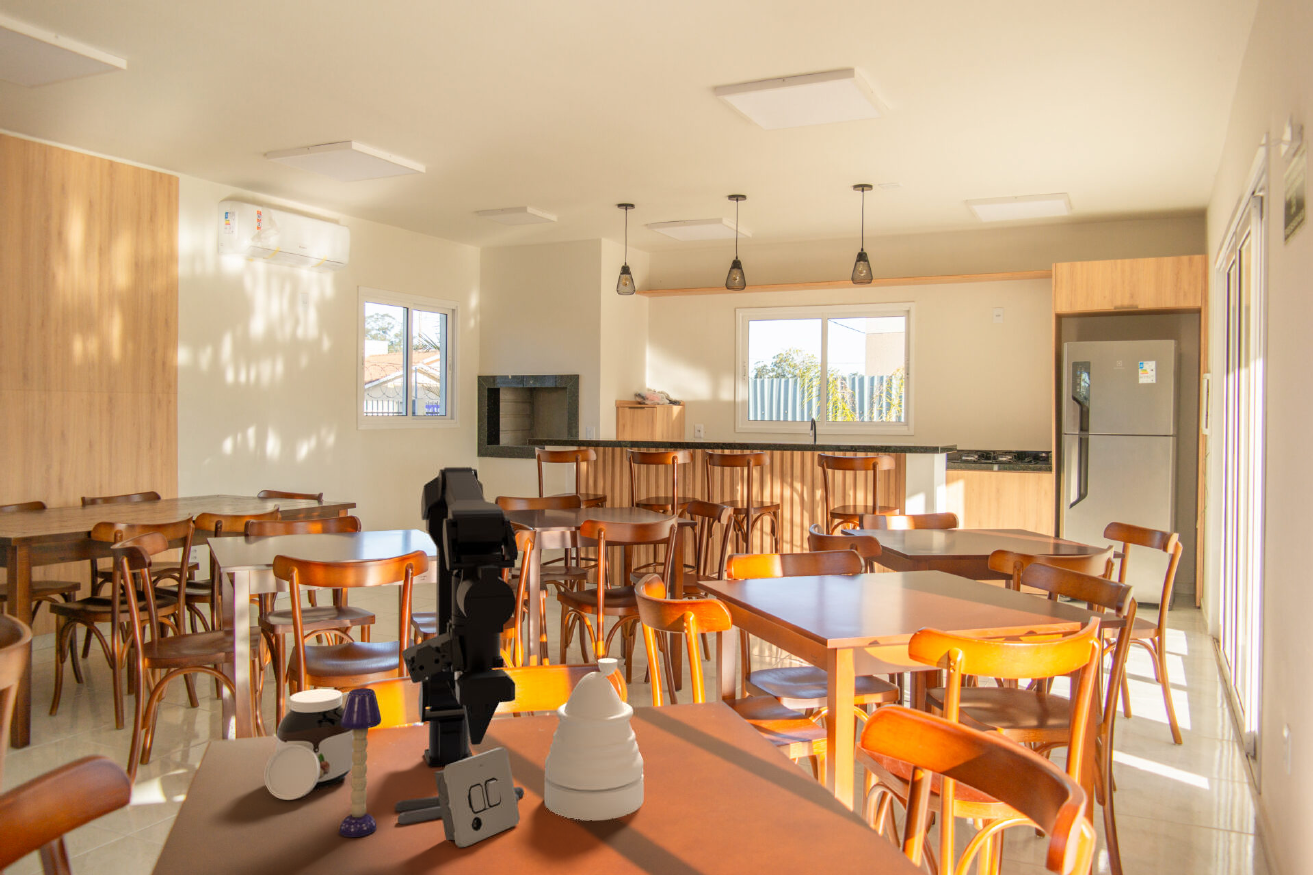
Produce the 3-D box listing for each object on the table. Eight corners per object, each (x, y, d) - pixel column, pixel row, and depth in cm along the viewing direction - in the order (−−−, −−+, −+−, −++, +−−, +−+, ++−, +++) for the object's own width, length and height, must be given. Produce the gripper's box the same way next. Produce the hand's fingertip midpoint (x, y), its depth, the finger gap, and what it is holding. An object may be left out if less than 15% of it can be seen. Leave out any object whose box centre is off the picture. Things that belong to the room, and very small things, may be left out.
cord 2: (396, 823, 115) (396, 811, 115) (516, 801, 122) (516, 790, 122) (399, 827, 114) (399, 815, 114) (520, 805, 121) (520, 794, 121)
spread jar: (348, 765, 135) (349, 684, 135) (363, 792, 125) (364, 704, 125) (258, 779, 129) (258, 694, 129) (266, 808, 119) (266, 716, 119)
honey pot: (613, 775, 131) (614, 647, 131) (661, 807, 120) (662, 666, 120) (528, 793, 125) (528, 658, 124) (571, 828, 114) (571, 679, 114)
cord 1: (394, 810, 119) (394, 799, 119) (522, 795, 125) (522, 784, 125) (395, 814, 118) (395, 803, 118) (524, 798, 123) (524, 788, 123)
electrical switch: (460, 851, 107) (456, 768, 108) (432, 843, 110) (428, 763, 111) (521, 825, 115) (517, 747, 115) (493, 818, 118) (488, 743, 118)
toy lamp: (345, 821, 115) (345, 685, 115) (383, 820, 116) (384, 684, 115) (335, 838, 110) (336, 696, 110) (376, 837, 111) (376, 695, 111)
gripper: (401, 603, 119) (400, 727, 119) (413, 633, 101) (412, 778, 101) (489, 598, 122) (489, 718, 122) (516, 626, 105) (515, 766, 105)
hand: (475, 743), depth 112 cm, fingers closed
